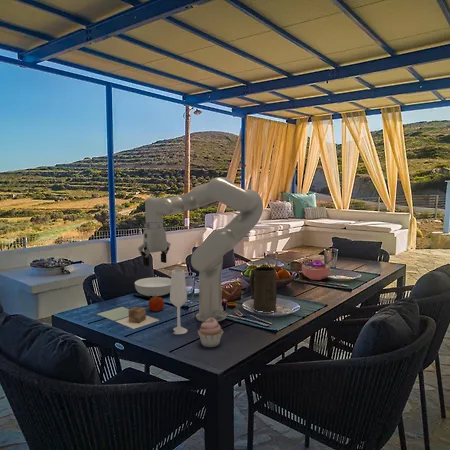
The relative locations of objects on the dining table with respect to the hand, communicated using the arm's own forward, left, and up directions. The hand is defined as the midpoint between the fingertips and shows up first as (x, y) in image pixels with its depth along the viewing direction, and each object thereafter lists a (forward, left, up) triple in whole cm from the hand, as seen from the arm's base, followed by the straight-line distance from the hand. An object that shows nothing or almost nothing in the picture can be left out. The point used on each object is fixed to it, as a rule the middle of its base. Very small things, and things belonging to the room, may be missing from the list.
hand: (155, 264), depth 174 cm
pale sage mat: (+9, +14, -22) cm, 27 cm away
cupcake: (-43, +10, -22) cm, 49 cm away
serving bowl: (+22, -17, -22) cm, 36 cm away
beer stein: (-33, -34, -22) cm, 52 cm away
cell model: (-25, -101, -22) cm, 106 cm away
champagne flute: (-25, +9, -22) cm, 35 cm away
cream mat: (-5, +14, -22) cm, 26 cm away
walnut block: (-5, +14, -21) cm, 26 cm away
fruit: (0, 0, -22) cm, 22 cm away
